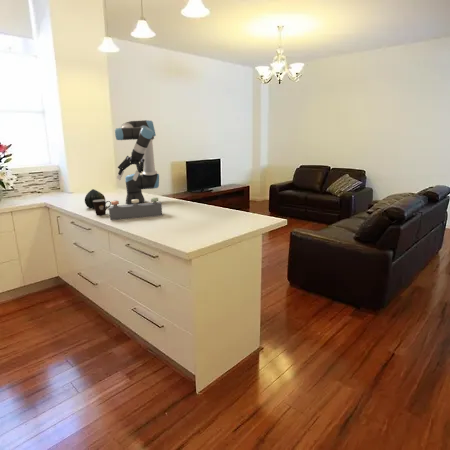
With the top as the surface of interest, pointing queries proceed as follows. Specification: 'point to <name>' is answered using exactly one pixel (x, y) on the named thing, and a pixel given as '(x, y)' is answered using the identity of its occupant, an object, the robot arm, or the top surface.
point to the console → (135, 211)
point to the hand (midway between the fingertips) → (126, 179)
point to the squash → (93, 198)
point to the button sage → (154, 200)
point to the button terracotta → (114, 203)
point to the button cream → (135, 201)
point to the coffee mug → (100, 206)
